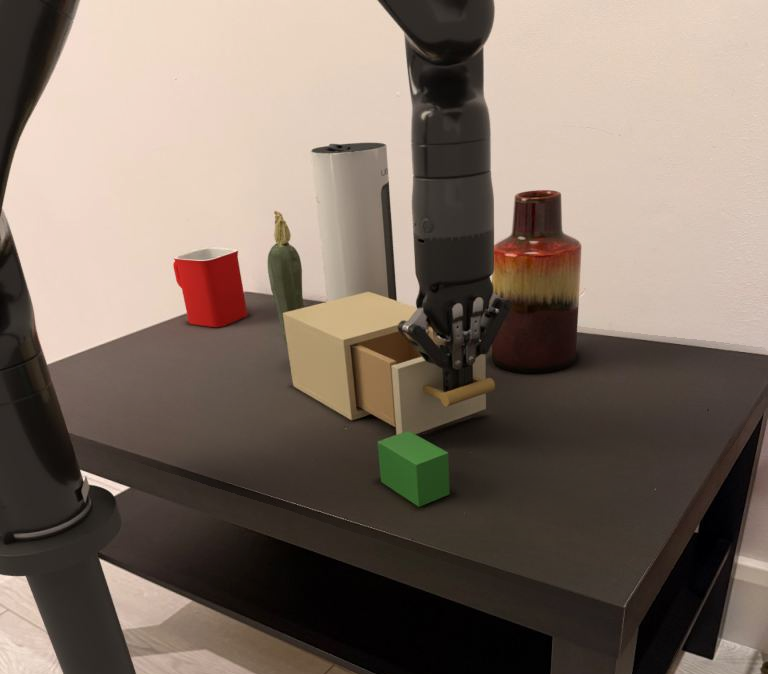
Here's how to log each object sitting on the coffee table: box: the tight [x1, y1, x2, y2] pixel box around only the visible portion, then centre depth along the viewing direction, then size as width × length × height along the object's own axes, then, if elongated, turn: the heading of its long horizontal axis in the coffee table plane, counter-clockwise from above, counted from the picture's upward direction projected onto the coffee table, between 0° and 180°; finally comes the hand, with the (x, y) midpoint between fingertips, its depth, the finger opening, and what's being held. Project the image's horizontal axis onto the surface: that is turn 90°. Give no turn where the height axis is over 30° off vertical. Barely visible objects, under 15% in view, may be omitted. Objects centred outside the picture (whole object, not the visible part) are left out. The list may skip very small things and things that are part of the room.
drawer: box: [350, 327, 496, 435], centre depth 85 cm, size 18×11×8 cm, turn 34°
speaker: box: [310, 141, 398, 302], centre depth 109 cm, size 11×10×26 cm
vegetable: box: [267, 210, 305, 349], centre depth 101 cm, size 4×4×20 cm
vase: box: [491, 189, 583, 374], centre depth 96 cm, size 11×11×20 cm
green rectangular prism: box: [377, 431, 451, 508], centre depth 72 cm, size 6×4×4 cm, turn 34°
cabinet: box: [283, 292, 431, 421], centre depth 94 cm, size 15×13×10 cm
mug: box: [172, 246, 248, 328], centre depth 126 cm, size 12×8×11 cm
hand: (458, 398), depth 80 cm, fingers closed
